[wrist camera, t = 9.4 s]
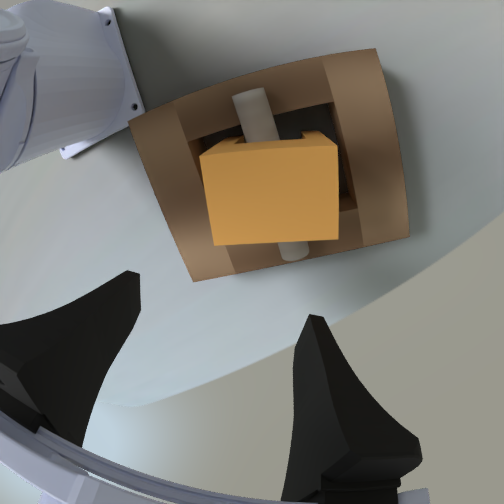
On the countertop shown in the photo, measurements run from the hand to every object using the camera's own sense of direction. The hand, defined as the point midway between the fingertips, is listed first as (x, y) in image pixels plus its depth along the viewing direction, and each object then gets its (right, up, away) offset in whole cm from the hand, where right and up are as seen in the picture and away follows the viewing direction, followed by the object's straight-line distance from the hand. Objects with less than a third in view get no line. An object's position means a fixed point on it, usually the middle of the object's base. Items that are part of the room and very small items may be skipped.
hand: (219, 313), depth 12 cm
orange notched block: (+3, +8, +6) cm, 10 cm away
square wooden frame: (+3, +8, +6) cm, 10 cm away
